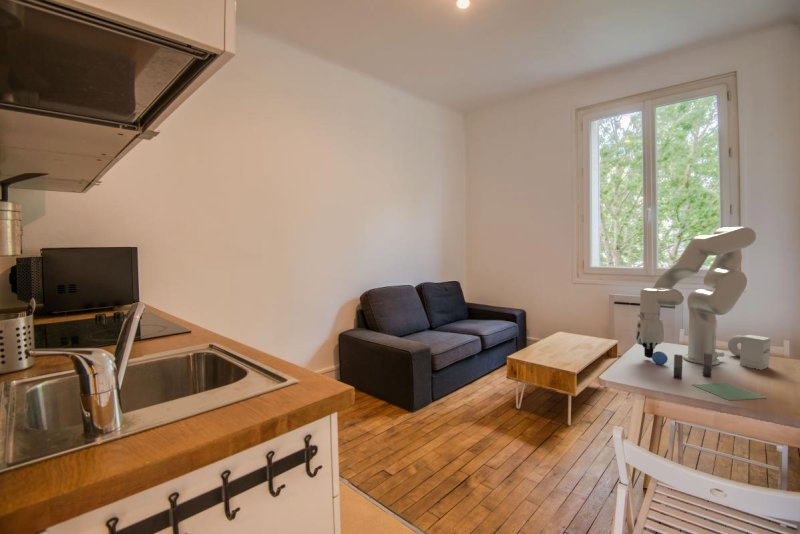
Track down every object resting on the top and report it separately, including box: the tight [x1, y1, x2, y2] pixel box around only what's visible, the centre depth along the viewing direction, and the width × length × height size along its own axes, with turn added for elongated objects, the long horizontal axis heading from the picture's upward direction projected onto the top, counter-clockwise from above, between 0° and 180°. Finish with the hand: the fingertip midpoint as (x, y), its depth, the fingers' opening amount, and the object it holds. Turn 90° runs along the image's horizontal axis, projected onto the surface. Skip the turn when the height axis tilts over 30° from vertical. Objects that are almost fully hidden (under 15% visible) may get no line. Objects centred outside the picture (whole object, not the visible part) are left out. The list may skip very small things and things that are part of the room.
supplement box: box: [739, 334, 772, 371], centre depth 160 cm, size 7×7×13 cm
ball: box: [651, 350, 669, 366], centre depth 163 cm, size 6×6×6 cm
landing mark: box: [692, 382, 767, 402], centre depth 134 cm, size 14×14×1 cm
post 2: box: [702, 353, 713, 379], centre depth 148 cm, size 3×3×9 cm
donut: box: [727, 335, 743, 358], centre depth 173 cm, size 10×4×10 cm, turn 18°
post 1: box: [673, 354, 684, 381], centre depth 147 cm, size 3×3×9 cm
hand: (648, 356), depth 170 cm, fingers closed
